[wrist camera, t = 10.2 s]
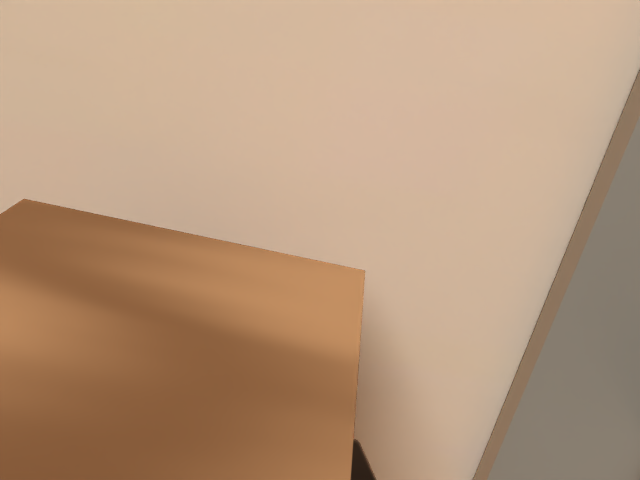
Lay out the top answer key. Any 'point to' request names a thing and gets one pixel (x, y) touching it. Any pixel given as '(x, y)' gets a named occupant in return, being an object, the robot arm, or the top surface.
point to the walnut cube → (170, 354)
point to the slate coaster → (584, 343)
